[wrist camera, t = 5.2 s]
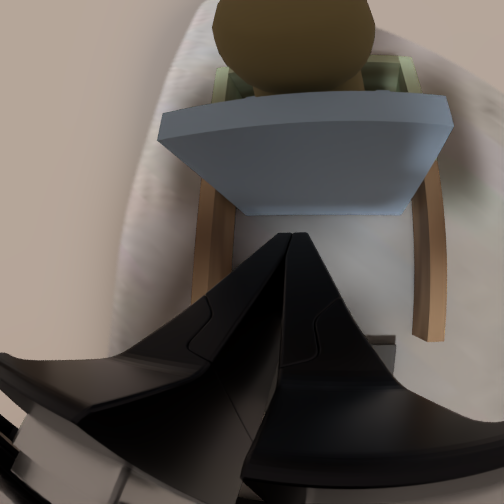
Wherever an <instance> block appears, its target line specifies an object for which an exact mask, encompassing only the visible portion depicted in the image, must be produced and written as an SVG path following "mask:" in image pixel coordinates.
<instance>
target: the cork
mask: <svg viewBox="0 0 504 504" xmlns="http://www.w3.org/2000/svg"><path fill="white" fill-rule="evenodd" d="M212 30H213V35H214V39H215V42H216V46H217V49H218V52H219V54H220V55H221V57H222V59H223V60H224V62H225V64H226V65H227V66H228V67H229V68H231V69H232V70H233V71H234V72H235V73H236V74H237V75H238V76H239V77H240V78H241V79H242V80H244V81H245V82H246V83H247V84H249V85H251V86H253V90H254V94H255V97H261V96H270V95H280V94H292V93H307V92H327V91H365V89H364V84H363V79H362V74H361V69H362V67H363V66H364V65H365V64H366V63H367V60H368V58H369V56H370V53H371V50H372V46H373V42H374V38H375V23H374V20H373V17H372V14H371V11H370V8H369V5H368V3H367V0H220V1H219V3H218V5H217V9H216V13H215V17H214V21H213V26H212Z"/></svg>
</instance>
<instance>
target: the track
mask: <svg viewBox="0 0 504 504" xmlns="http://www.w3.org/2000/svg"><path fill="white" fill-rule="evenodd" d="M361 74H362V79H363V84H364V89H365V91H376V90H389V91H390V92H407V93H421V94H422V90H421V87H420V83H419V80H418V76H417V73H416V70H415V67H414V64H413V61H412V58H411V57H405V56H389V55H370V56H369V58H368V60H367V63H366V64H365V65H364V66H363V67H362V69H361ZM250 96H255V94H254V90H253V86H251V85H249V84H247V83H246V82H245V81H244V80H242V79H241V78H240V77H239V76H238V75H237V74H236V73H235V72H234V71H233V70H232V69H231V68H229V67H228V66H227V67H222V68H217V70H216V76H215V82H214V88H213V95H212V101H211V104H212V103H218V102H224V101H231V100H237V99H245V98H246V97H250ZM235 209H236V206H235V205H233V204H232V203H231V202H230V201H229V200H228V199H226V198H225V197H224V196H223V195H222V194H221V193H219V192H218V191H217V190H216V189H215V188H214V187H212V186H211V185H210V184H209V183H208V182H206V181H205V180H204V179H203V178H201V187H200V197H199V207H198V217H197V228H196V239H195V252H194V265H193V279H192V295H191V305H192V304H193V303H194V302H196V301H197V300H198V299H199V298H201V297H202V296H203V295H205V294H206V293H207V292H208V291H209V290H210V289H211V288H213V287H214V286H215V285H216V284H218V283H219V282H220V281H221V280H222V279H224V278H225V277H226V276H227V275H228V274H230V273H231V271H232V255H233V239H234V224H235ZM412 212H413V229H414V260H415V281H414V312H413V329H412V335H414V336H416V337H418V338H420V339H422V340H424V341H426V342H439V341H444V336H445V322H446V302H447V253H446V233H445V219H444V208H443V198H442V190H441V182H440V175H439V168H438V162H437V158H436V159H435V161H434V163H433V164H432V166H431V168H430V170H429V171H428V173H427V175H426V176H425V178H424V180H423V181H422V183H421V184H420V186H419V188H418V189H417V191H416V192H415V194H414V196H413V197H412Z"/></svg>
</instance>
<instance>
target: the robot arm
mask: <svg viewBox="0 0 504 504" xmlns="http://www.w3.org/2000/svg"><path fill="white" fill-rule="evenodd" d="M278 360H279V364H278V377H277V384H276V389H275V392H274V395H273V397H272V400H271V402H270V404H269V407H268V409H267V411H266V413H265V416H264V418H263V420H262V417H263V414H264V410H265V407H266V403H267V400H268V396H269V393H270V389H271V385H272V382H273V378H274V374H275V371H276V367H277V363H278ZM0 390H1V391H2V392H3V393H5V394H6V395H7V396H8V397H9V398H10V399H11V400H12V401H13V402H14V403H16V404H17V405H18V406H19V407H20V408H21V409H22V410H24V411H25V412H26V413H27V415H26V417H25V419H24V420H23V422H22V424H21V426H20V428H19V429H18V428H17V427H16V426H14V425H13V424H12V423H10V422H9V421H8V420H7V419H5V418H4V417H3V416H2V415H1V414H0V504H504V421H502V422H482V421H476V420H472V419H470V418H467V417H464V416H462V415H460V414H458V413H455V412H453V411H451V410H449V409H447V408H445V407H443V406H440V405H438V404H436V403H434V402H432V401H430V400H428V399H426V398H424V397H422V396H420V395H418V394H416V393H414V392H412V391H410V390H408V389H406V388H405V387H404V386H402V385H401V384H400V383H399V382H398V381H397V380H396V379H395V377H394V376H393V375H392V373H391V372H390V371H389V369H388V368H387V367H386V365H385V364H384V362H383V361H382V359H381V358H380V357H379V355H378V354H377V352H376V351H375V350H374V348H373V347H372V345H371V344H370V343H369V341H368V340H367V338H366V337H365V336H364V334H363V333H362V331H361V330H360V328H359V327H358V325H357V324H356V322H355V321H354V319H353V317H352V315H351V313H350V312H349V310H348V308H347V306H346V304H345V302H344V300H343V299H342V297H341V295H340V293H339V291H338V289H337V287H336V285H335V283H334V281H333V279H332V277H331V276H330V274H329V272H328V270H327V268H326V266H325V264H324V262H323V261H322V259H321V257H320V255H319V253H318V251H317V249H316V248H315V246H314V244H313V242H312V240H311V238H310V237H309V235H308V233H306V232H297V233H293V234H292V233H278V234H276V235H275V236H274V237H273V238H272V239H270V240H269V241H268V242H267V243H266V244H264V245H263V246H262V247H261V248H260V249H258V250H257V251H256V252H255V253H254V254H252V255H251V256H250V257H249V258H248V259H246V260H245V261H244V262H243V263H242V264H240V265H239V266H238V267H237V268H236V269H234V270H233V271H232V272H231V273H230V274H228V275H227V276H226V277H225V278H224V279H222V280H221V281H220V282H219V283H218V284H216V285H215V286H214V287H213V288H211V289H210V290H209V291H208V292H207V293H206V294H205V295H203V296H202V297H201V298H199V299H198V300H197V301H196V302H194V303H193V304H192V305H191V306H189V307H188V308H187V309H186V310H184V311H183V312H182V313H181V314H179V315H178V316H176V317H175V318H174V319H172V320H171V321H169V322H168V323H166V324H165V325H164V326H162V327H161V328H159V329H158V330H156V331H155V332H153V333H152V334H150V335H149V336H147V337H146V338H144V339H143V340H142V341H140V342H139V343H137V344H136V345H134V346H133V347H131V348H130V349H128V350H126V351H125V352H123V353H121V354H119V355H116V356H113V357H109V358H104V359H86V360H45V361H44V360H41V361H40V360H39V361H38V360H23V359H19V358H16V357H13V356H11V355H9V354H7V353H0ZM261 420H262V423H261ZM260 424H261V425H260ZM242 481H243V482H244V483H245V484H246V485H247V486H248V487H249V488H250V489H252V490H253V491H254V492H255V493H256V494H257V495H258V496H260V497H261V498H262V499H263V500H264V501H265V502H261V501H255V500H250V499H245V498H240V497H237V496H238V493H239V491H240V488H241V485H242Z"/></svg>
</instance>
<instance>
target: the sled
mask: <svg viewBox="0 0 504 504" xmlns="http://www.w3.org/2000/svg"><path fill="white" fill-rule="evenodd" d="M453 127H454V124H453V120H452V116H451V112H450V109H449V105H448V102H447V99H446V96H442V95H432V94H421V93H407V92H390V91H389V90H376V91H327V92H307V93H292V94H280V95H270V96H261V97H255V96H250V97H246V98H245V99H237V100H231V101H224V102H218V103H212V104H206V105H201V106H195V107H190V108H185V109H180V110H176V111H171V112H167V113H163V115H162V119H161V124H160V129H159V134H158V139H157V141H158V142H160V143H161V144H162V145H163V146H165V147H166V148H167V149H168V150H169V151H171V152H172V153H173V154H174V155H175V156H177V157H178V158H179V159H180V160H181V161H183V162H184V163H185V164H186V165H187V166H189V167H190V168H191V169H192V170H193V171H195V172H196V173H197V174H198V175H199V176H200V177H202V178H203V179H204V180H205V181H206V182H208V183H209V184H210V185H211V186H212V187H214V188H215V189H216V190H217V191H218V192H219V193H221V194H222V195H223V196H224V197H225V198H226V199H228V200H229V201H230V202H231V203H232V204H233V205H235V206H236V207H237V208H238V209H239V210H240V211H242V212H243V213H244V214H245V215H246V216H250V215H401V214H402V213H403V211H404V210H405V208H406V207H407V205H408V204H409V202H410V200H411V199H412V197H413V196H414V194H415V192H416V191H417V189H418V188H419V186H420V184H421V183H422V181H423V180H424V178H425V176H426V175H427V173H428V171H429V170H430V168H431V166H432V164H433V163H434V161H435V159H436V158H437V156H438V154H439V152H440V151H441V149H442V147H443V145H444V144H445V142H446V140H447V138H448V136H449V134H450V133H451V131H452V129H453Z"/></svg>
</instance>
